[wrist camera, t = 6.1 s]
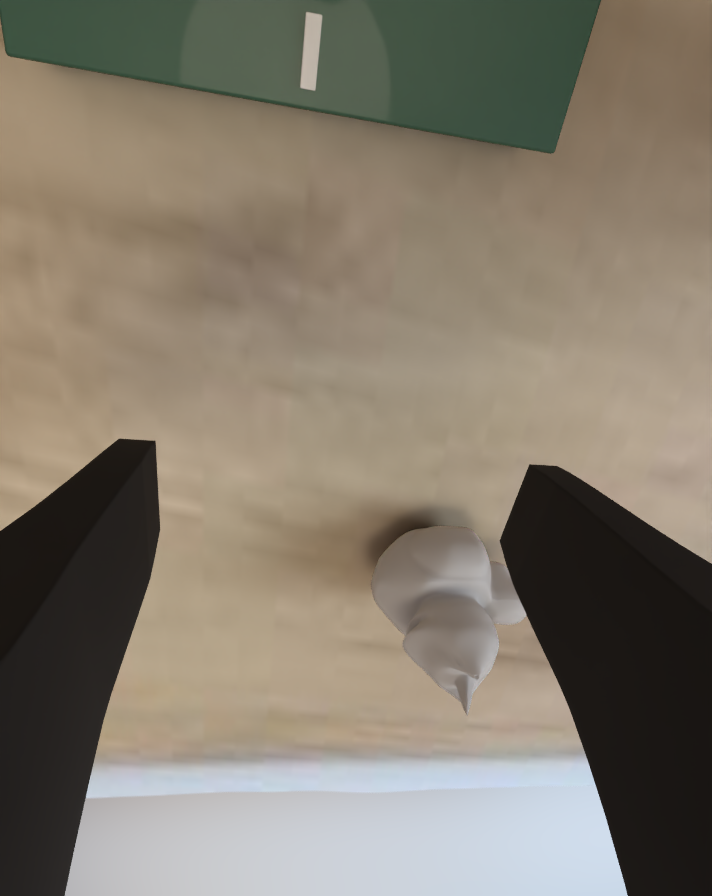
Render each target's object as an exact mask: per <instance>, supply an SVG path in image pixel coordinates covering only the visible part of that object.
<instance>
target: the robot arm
mask: <svg viewBox="0 0 712 896" xmlns="http://www.w3.org/2000/svg"><path fill="white" fill-rule="evenodd" d="M159 532H160V519H159V500H158V481H157V462H156V443H155V441H147V440H131V439H118V440H117V441H116V442H114V443H113V444H112V445H111V446H109V447H108V448H107V449H106V450H104V451H103V452H102V453H101V454H99V455H98V456H97V457H96V458H95V459H93V460H92V461H91V462H90V463H89V464H87V465H86V466H85V467H84V468H83V469H81V470H80V471H79V472H78V473H76V474H75V475H74V476H73V477H72V478H70V479H69V480H68V481H67V482H65V483H64V484H63V485H62V486H60V487H59V488H58V489H57V490H55V491H54V492H53V493H51V494H50V495H49V496H48V497H46V498H45V499H44V500H43V501H41V502H40V503H39V504H37V505H36V506H35V507H33V508H32V509H31V510H29V511H28V512H26V513H25V514H24V515H22V516H21V517H19V518H18V519H17V520H15V521H14V522H12V523H11V524H10V525H8V526H7V527H5V528H4V529H3V530H1V531H0V896H64V895H65V891H66V886H67V881H68V876H69V871H70V866H71V862H72V857H73V852H74V847H75V843H76V838H77V834H78V829H79V825H80V820H81V816H82V811H83V806H84V802H85V798H86V793H87V788H88V784H89V780H90V775H91V771H92V767H93V763H94V758H95V754H96V750H97V745H98V741H99V737H100V733H101V728H102V724H103V720H104V717H105V713H106V710H107V707H108V703H109V700H110V696H111V693H112V690H113V687H114V684H115V681H116V678H117V675H118V672H119V669H120V667H121V664H122V661H123V658H124V655H125V652H126V649H127V646H128V643H129V640H130V637H131V634H132V631H133V628H134V625H135V622H136V620H137V617H138V614H139V611H140V608H141V605H142V602H143V599H144V596H145V593H146V590H147V587H148V583H149V580H150V577H151V572H152V567H153V563H154V558H155V553H156V548H157V542H158V537H159ZM500 543H501V547H502V550H503V554H504V558H505V561H506V565H507V568H508V571H509V574H510V577H511V580H512V583H513V586H514V588H515V590H516V593H517V595H518V597H519V599H520V602H521V604H522V606H523V608H524V610H525V612H526V615H527V617H528V619H529V621H530V623H531V625H532V627H533V630H534V632H535V634H536V636H537V638H538V640H539V642H540V644H541V646H542V649H543V651H544V653H545V655H546V657H547V659H548V661H549V663H550V666H551V668H552V670H553V672H554V674H555V676H556V678H557V680H558V683H559V685H560V687H561V689H562V692H563V694H564V696H565V699H566V701H567V704H568V706H569V708H570V711H571V714H572V717H573V720H574V722H575V725H576V728H577V731H578V734H579V737H580V739H581V742H582V745H583V748H584V751H585V754H586V756H587V759H588V762H589V765H590V769H591V772H592V775H593V778H594V781H595V784H596V787H597V790H598V794H599V797H600V800H601V803H602V806H603V809H604V812H605V816H606V819H607V823H608V826H609V830H610V833H611V837H612V840H613V844H614V847H615V851H616V854H617V858H618V862H619V865H620V869H621V872H622V875H623V879H624V882H625V886H626V890H627V895H628V896H712V564H711V563H709V562H708V561H706V560H704V559H703V558H701V557H699V556H698V555H696V554H695V553H693V552H691V551H690V550H688V549H686V548H685V547H683V546H681V545H680V544H678V543H677V542H675V541H674V540H672V539H670V538H669V537H667V536H666V535H664V534H663V533H661V532H659V531H658V530H656V529H655V528H653V527H652V526H650V525H649V524H647V523H646V522H644V521H643V520H641V519H640V518H638V517H637V516H635V515H634V514H632V513H631V512H629V511H628V510H626V509H625V508H623V507H622V506H620V505H619V504H617V503H616V502H614V501H613V500H611V499H610V498H608V497H607V496H605V495H604V494H602V493H601V492H599V491H598V490H596V489H595V488H593V487H592V486H590V485H589V484H587V483H585V482H584V481H582V480H581V479H579V478H577V477H576V476H574V475H572V474H571V473H569V472H567V471H565V470H564V469H562V468H560V467H558V466H546V465H530V464H529V467H528V470H527V472H526V475H525V477H524V480H523V482H522V485H521V488H520V490H519V493H518V495H517V498H516V500H515V503H514V505H513V508H512V511H511V513H510V516H509V518H508V521H507V523H506V526H505V529H504V531H503V534H502V536H501V539H500Z"/></svg>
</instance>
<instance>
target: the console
mask: <svg viewBox="0 0 712 896" xmlns="http://www.w3.org/2000/svg"><path fill="white" fill-rule="evenodd" d="M600 2H601V0H0V19H1V25H2V32H3V38H4V44H5V51H6V53H7V55H8V56H10V57H15V58H21V59H27V60H32V61H38V62H43V63H49V64H54V65H60V66H66V67H71V68H77V69H82V70H88V71H93V72H99V73H104V74H110V75H116V76H121V77H127V78H132V79H138V80H143V81H149V82H155V83H160V84H166V85H171V86H177V87H182V88H188V89H193V90H199V91H205V92H210V93H216V94H221V95H227V96H232V97H238V98H244V99H249V100H255V101H260V102H266V103H271V104H277V105H283V106H288V107H294V108H299V109H305V110H310V111H316V112H321V113H327V114H333V115H338V116H344V117H349V118H355V119H360V120H366V121H372V122H377V123H383V124H388V125H394V126H399V127H405V128H410V129H416V130H422V131H427V132H433V133H438V134H444V135H449V136H455V137H461V138H466V139H472V140H477V141H483V142H488V143H494V144H500V145H505V146H511V147H516V148H522V149H527V150H533V151H538V152H544V153H550V154H552V153H554V151H555V149H556V145H557V142H558V139H559V135H560V132H561V129H562V126H563V122H564V119H565V116H566V113H567V109H568V106H569V103H570V100H571V96H572V93H573V90H574V87H575V83H576V80H577V77H578V73H579V70H580V67H581V64H582V60H583V57H584V54H585V51H586V47H587V44H588V41H589V38H590V34H591V31H592V28H593V24H594V21H595V18H596V15H597V11H598V8H599V5H600Z"/></svg>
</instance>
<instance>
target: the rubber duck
mask: <svg viewBox="0 0 712 896" xmlns="http://www.w3.org/2000/svg"><path fill="white" fill-rule="evenodd" d="M371 589H372V594H373V597H374V600H375V602H376V604H377V605H378V607H379V608H380V609H381V610H382V611H383V613H384V614H385V615H386V616H387V618H388V619H389V620H390V621H391V622H392V623H393V624H394V626H395V627H396V628H397V629H398V630H399V631H400V632H401V633H403V634H404V635H405V638H404V640H403V648H404V650H405V652H406V653H407V654H408V656H409V657H410V658H411V659H412V660H413V661H414V662H415V663H416V664H417V665H418V666H419V667H421V668H422V669H423V670H424V671H425V672H426V673H427V674H428V675H429V676H430V677H431V678H432V679H433V680H434V681H435V682H436V683H437V685H438V686H439V687H441V688H442V689H444V690H446V691H447V692H448V693H450V694H451V695H452V696H454V697H455V698H456V699H457V700H458V701H460V702H461V704H462V706H463V708H464V711H465V713H466V715H468V712H469V708H470V704H471V699H472V694H473V693H474V691H475V690H476V688H477V687H478V686H479V684H480V683H481V682H482V681H483V679H484V678H485V677H486V676H487V675H488V673H489V672H490V670H491V669H492V667H493V664H494V661H495V658H496V655H497V653H498V649H499V639H498V636H497V632H496V629H495V626H494V624H493V623H495V624H501V625H512V624H516V623H518V622H520V621H522V620H523V619H524V618H525V617H526V612H525V610H524V608H523V606H522V604H521V602H520V599H519V597H518V595H517V593H516V590H515V588H514V586H513V583H512V580H511V577H510V574H509V571H508V569H507V568H506V566H505V565H503V564H501V563H499V562H494V561H489V557H488V555H487V552H486V549H485V547H484V545H483V543H482V541H481V540H480V538H479V537H478V536H477V534H476V533H475V532H474V531H473V530H471V529H469V528H465V527H453V526H433V527H429V528H422V529H415V530H412V531H409V532H407V533H405V534H403V535H402V536H400V537H399V538H398V539H397V540H395V541H394V542H393V543H392V544H391V545H390V546H389V547H388V548H387V549H386V550H385V552H384V553H383V554H382V555H381V556H380V558H379V560H378V563H377V565H376V567H375V570H374V573H373V576H372V580H371Z"/></svg>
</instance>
